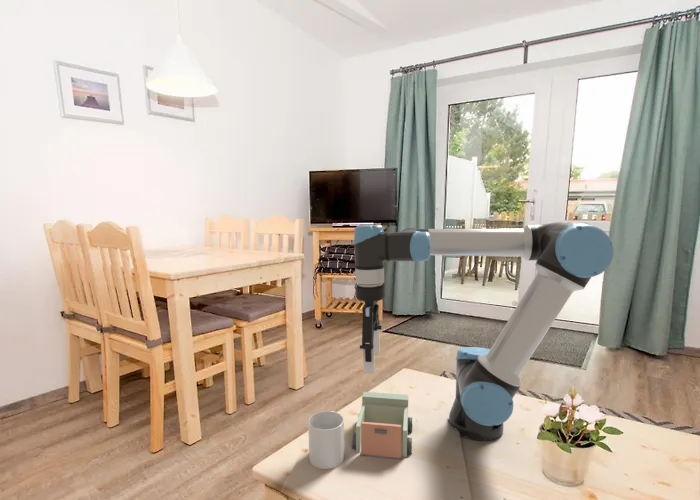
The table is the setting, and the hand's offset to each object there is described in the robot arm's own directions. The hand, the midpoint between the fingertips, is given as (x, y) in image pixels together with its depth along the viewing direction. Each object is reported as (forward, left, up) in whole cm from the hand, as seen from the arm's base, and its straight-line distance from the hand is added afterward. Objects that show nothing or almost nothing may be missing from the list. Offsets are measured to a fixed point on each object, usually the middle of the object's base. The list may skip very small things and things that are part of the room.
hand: (372, 362), depth 104 cm
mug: (+10, +8, -23) cm, 27 cm away
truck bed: (-3, -1, -23) cm, 23 cm away
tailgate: (-3, +7, -22) cm, 23 cm away
